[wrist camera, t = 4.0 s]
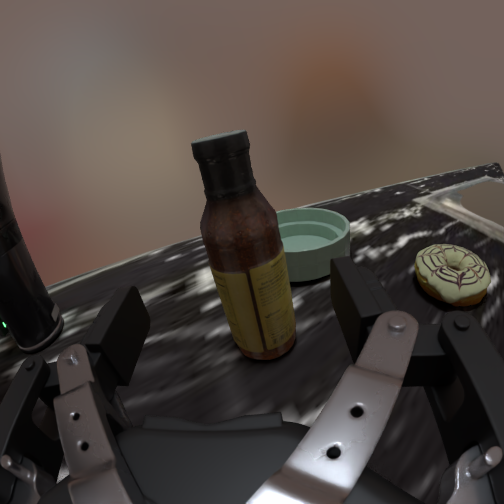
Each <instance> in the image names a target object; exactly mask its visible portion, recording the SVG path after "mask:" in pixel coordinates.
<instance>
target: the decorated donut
mask: <svg viewBox="0 0 504 504" xmlns="http://www.w3.org/2000/svg"><path fill="white" fill-rule="evenodd" d="M414 267H415V272H416V275H417V279H418V282H419V284H420V286H421V287H422V288H423V290H424V291H425V292H426V293H427V294H428V295H430V296H432V297H434V298H436V299H437V300H440V301H443V302H446V303H450V304H452V305H453V306H455V307H457V306H469V305H474V304H477V303H479V302H480V301H481V300H482V298H483V297H484V295H485V294H486V291H487V287H488V286H489V284H490V283H491V279H490V274H489V271H488V268H487V266H486V264H485V263H484V262H483V261H482V260H481V259H480V258H479V257H478V256H477V255H476V254H474V253H473V252H471V251H469V250H467V249H465V248H462V247H458V246H455V245H449V244H438V245H433V246H430V247H428V248H425V249H423V250H421V251H420V252H419V253H418V255H417V257H416V261H415V266H414Z"/></svg>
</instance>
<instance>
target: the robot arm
mask: <svg viewBox="0 0 504 504" xmlns="http://www.w3.org/2000/svg"><path fill="white" fill-rule="evenodd" d="M330 284H331V300H332V304H333V308H334V310H335V313H336V316H337V318H338V321H339V324H340V326H341V329H342V332H343V335H344V337H345V340H346V343H347V346H348V348H349V351H350V354H351V357H352V360H353V363H354V365H352V364H350V365H349V366H348V368H347V369H346V371H345V373H344V374H343V376H342V378H341V380H340V381H339V383H338V385H337V387H336V388H335V390H334V392H333V393H332V395H331V397H330V398H329V400H328V401H327V403H326V405H325V406H324V408H323V409H322V411H321V413H320V414H319V416H318V417H317V419H316V420H315V422H314V423H313V425H312V426H311V428H310V427H308V426H305V425H302V424H299V423H293V422H287V421H283V419H282V414H281V412H276V413H267V414H256V415H244V416H241V417H237V418H234V419H230V420H226V421H222V422H218V423H214V424H209V425H206V424H201V423H197V422H193V421H189V420H185V419H181V418H177V417H168V416H150V415H145V417H144V421H143V425H138V426H135V427H133V425H132V423H131V421H130V419H129V416H128V414H127V412H126V410H125V408H124V405H123V403H122V401H121V398H120V396H119V394H118V392H117V391H116V390H115V389H116V387H117V386H129V383H130V380H131V377H132V374H133V371H134V369H135V366H136V363H137V360H138V358H139V355H140V352H141V350H142V347H143V344H144V342H145V339H146V336H147V334H148V331H149V329H150V317H149V314H148V312H147V310H146V307H145V305H144V303H143V301H142V298H141V296H140V294H139V291H138V289H137V288H136V287H135V286H130V287H122V288H118V289H117V290H116V292H115V293H114V295H113V296H112V298H111V300H110V301H109V302H107V303H106V304H105V305H104V306H103V307H102V308H101V310H100V311H99V313H98V315H97V317H96V318H95V320H94V321H93V324H91V326H90V328H89V329H88V331H87V333H86V335H85V336H84V338H83V340H82V341H81V343H80V345H79V344H76V345H72V346H70V347H68V348H66V349H65V350H64V351H63V352H62V353H61V354H60V355H59V357H58V359H57V361H56V362H52V363H48V364H47V363H46V362H45V360H44V359H43V358H42V356H41V355H38V354H36V355H32V356H30V357H29V358H27V359H26V360H25V361H24V362H23V363H22V365H21V367H20V368H19V370H18V372H17V374H16V375H15V377H14V379H13V381H12V383H11V385H10V387H9V389H8V391H7V393H6V394H5V396H4V399H3V401H2V403H1V405H0V504H425V503H424V502H422V501H420V500H418V499H417V498H415V497H413V496H412V495H410V494H408V493H407V492H405V491H403V490H402V489H400V488H399V487H397V486H395V485H394V484H392V483H391V482H389V481H388V480H386V479H385V478H383V477H382V476H380V475H379V474H377V473H376V472H374V471H373V470H371V469H370V468H368V467H367V466H366V464H367V462H368V460H369V458H370V456H371V455H372V453H373V451H374V449H375V447H376V445H377V443H378V440H379V438H380V436H381V434H382V432H383V430H384V428H385V425H386V423H387V421H388V418H389V416H390V414H391V411H392V409H393V406H394V404H395V401H396V399H397V396H398V394H399V391H400V388H401V387H409V386H423V387H424V390H425V392H426V395H427V398H428V400H429V403H430V406H431V408H432V411H433V414H434V417H435V420H436V422H437V425H438V428H439V431H440V434H441V438H442V441H443V444H444V447H445V450H446V454H447V457H448V461H449V464H450V465H449V466H448V467H447V468H446V470H445V471H444V472H443V474H442V476H441V479H440V484H439V488H440V494H439V498H438V501H437V503H436V504H504V360H503V359H502V357H501V356H500V354H499V352H498V351H497V349H496V348H495V346H494V345H493V343H492V341H491V340H490V338H489V337H488V335H487V334H486V333H485V331H484V330H483V328H482V327H481V325H480V324H479V322H478V321H477V320H476V319H475V317H473V316H472V315H471V314H469V313H467V312H464V311H451V312H449V313H447V314H446V315H445V316H444V317H443V319H442V322H441V324H418V323H417V321H416V319H415V318H414V317H413V316H412V315H410V314H408V313H406V312H402V311H399V310H398V309H397V307H396V306H395V304H394V302H393V301H392V299H391V298H390V296H389V295H388V293H387V292H386V290H385V289H384V288H383V286H382V284H381V283H380V282H379V280H378V278H377V277H376V275H375V274H374V272H373V271H371V270H369V269H368V268H366V267H365V266H361V267H356V265H355V263H354V262H353V260H352V259H351V257H350V256H344V257H338V258H332V259H331V260H330ZM62 326H63V318H62V316H61V315H60V313H59V308H58V306H57V304H56V303H55V305H54V303H53V301H52V300H51V298H50V296H49V294H48V292H47V290H46V288H45V286H44V284H43V282H42V280H41V278H40V276H39V274H38V272H37V270H36V268H35V265H34V263H33V261H32V259H31V256H30V254H29V252H28V249H27V247H26V244H25V242H24V239H23V237H22V235H21V232H20V229H19V227H18V224H17V221H16V218H15V215H14V212H13V209H12V206H11V201H10V197H9V193H8V189H7V185H6V182H5V177H4V173H3V168H2V162H1V155H0V336H6V334H7V333H8V332H9V333H10V335H11V336H12V338H13V339H14V341H15V342H16V344H17V345H18V346H19V348H20V349H21V350H22V351H23V352H25V353H33V352H36V351H39V350H41V349H43V348H44V347H46V346H47V345H48V344H50V343H51V342H52V341H53V340H54V339H55V338H56V337H57V335H58V334H59V333H60V331H61V329H62ZM38 397H39V398H40V399H41V400H42V401H43V402H44V403H45V404H46V405H47V406H48V407H47V410H46V412H45V415H44V417H43V420H42V422H41V425H40V428H38V427H37V426H36V425H35V424H34V423H33V421H32V418H31V414H32V411H33V408H34V406H35V404H36V401H37V399H38ZM63 455H64V456H65V460H66V463H67V467H68V470H69V475H68V476H67V477H65V478H64V479H63V480H61V481H60V482H59V483H58V484H56V482H57V478H58V474H59V470H60V466H61V463H62V459H63Z"/></svg>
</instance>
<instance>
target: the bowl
mask: <svg viewBox="0 0 504 504" xmlns="http://www.w3.org/2000/svg"><path fill="white" fill-rule="evenodd" d="M276 213H277V219H278V225H279V232H280V236H281V240H282V242H283V246H284V252H285V257H286V263H287V270H288V276H289V282H302V281H309V280H314V279H318V278H321V277H323V276H326V275H329V274H330V260H331V259H332V258H338V257H344V256H350V223H349V221H348V220H347V219H346V218H345V217H344V216H342V215H341V214H339V213H337V212H334V211H330V210H326V209H318V208H294V209H288V210H281V211H278V212H276Z"/></svg>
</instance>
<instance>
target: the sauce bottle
mask: <svg viewBox="0 0 504 504" xmlns="http://www.w3.org/2000/svg"><path fill="white" fill-rule="evenodd" d="M191 146H192V151H193V156H194V159H195V160H196V161H197V163H198V164H199V168H200V172H201V176H202V180H203V184H204V188H205V190H204V192H205V195H206V199H207V202H206V205H205V209H204V212H203V215H202V219H201V222H200V229H201V234H202V238H203V244H204V245H205V248H206V251H207V255H208V258H209V265H210V268H211V271H212V275H213V278H214V281H215V284H216V287H217V290H218V293H219V296H220V299H221V302H222V305H223V308H224V311H225V314H226V317H227V320H228V324H229V327H230V329H231V332H232V335H233V338H234V341H235V342H236V343H237V344H238V346H239V348H240V350H241V351H242V352H243V353H244V355H245V356H247V357H248V358H253V359H258V360H271V359H275V358H277V357H279V356H282V355H283V354H284V353H286V352H288V351H289V349H290V348H291V347H292V346H293V344H294V340H295V336H296V330H295V328H296V322H295V315H294V309H293V302H292V295H291V288H290V282H289V276H288V270H287V263H286V257H285V252H284V246H283V242H282V240H281V236H280V232H279V225H278V219H277V213H276V212H275V210H274V209H273V208H272V206H271V205H270V204H269V203H268V201H267V200H266V199H265V197H264V196H263V194H262V193H261V192H260V190H259V189H258V188H257V186H256V180H255V179H254V177H253V171H252V168H251V162H250V156H249V148H250V143H249V139H248V136H247V132H246V130H236V131H231V132H226V133H221V134H217V135H213V136H209V137H205V138H201V139H198V140H195V141H193V142H192V143H191Z"/></svg>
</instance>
